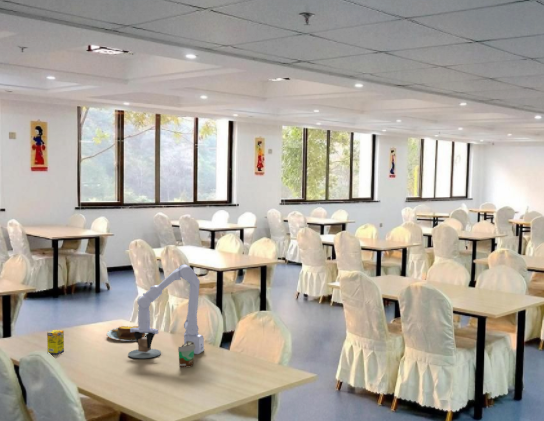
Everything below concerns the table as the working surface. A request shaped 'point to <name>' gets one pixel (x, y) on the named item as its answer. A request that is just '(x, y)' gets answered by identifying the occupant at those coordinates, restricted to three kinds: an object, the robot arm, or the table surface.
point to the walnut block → (143, 345)
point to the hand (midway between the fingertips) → (144, 347)
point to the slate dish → (144, 353)
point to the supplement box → (55, 342)
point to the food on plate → (123, 333)
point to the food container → (186, 354)
